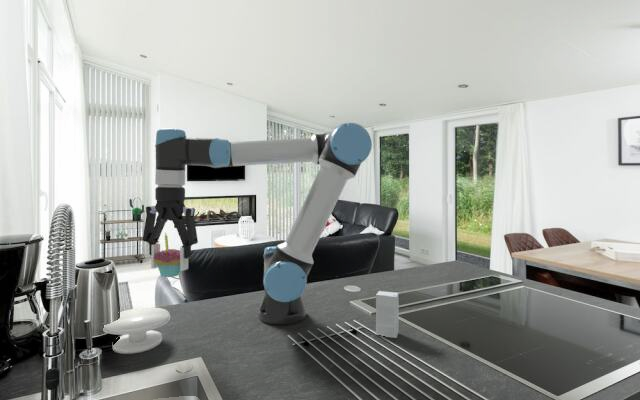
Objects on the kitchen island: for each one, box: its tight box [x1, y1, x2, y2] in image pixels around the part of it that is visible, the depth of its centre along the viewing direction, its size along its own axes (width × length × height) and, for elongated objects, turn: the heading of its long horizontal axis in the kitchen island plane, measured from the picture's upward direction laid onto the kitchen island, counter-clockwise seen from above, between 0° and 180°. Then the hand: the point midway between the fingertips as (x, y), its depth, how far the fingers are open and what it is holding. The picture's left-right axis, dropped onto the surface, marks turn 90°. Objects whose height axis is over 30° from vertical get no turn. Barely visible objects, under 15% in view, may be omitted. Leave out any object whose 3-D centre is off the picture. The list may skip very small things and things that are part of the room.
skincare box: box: [375, 290, 400, 339], centre depth 107 cm, size 6×4×12 cm
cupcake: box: [154, 232, 181, 278], centre depth 102 cm, size 9×8×12 cm
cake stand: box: [102, 306, 171, 355], centre depth 101 cm, size 17×17×7 cm
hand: (169, 268), depth 102 cm, fingers closed on cupcake, 8 cm apart
